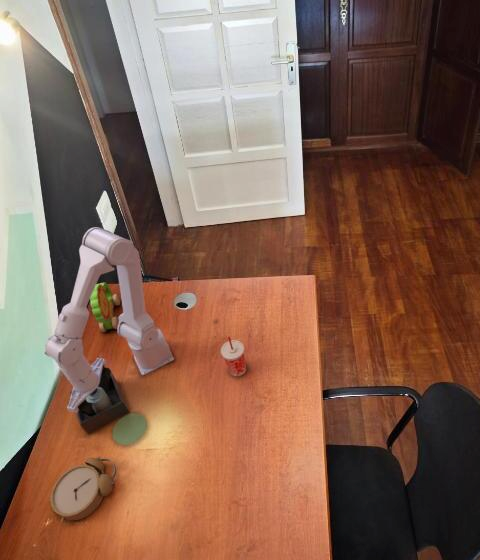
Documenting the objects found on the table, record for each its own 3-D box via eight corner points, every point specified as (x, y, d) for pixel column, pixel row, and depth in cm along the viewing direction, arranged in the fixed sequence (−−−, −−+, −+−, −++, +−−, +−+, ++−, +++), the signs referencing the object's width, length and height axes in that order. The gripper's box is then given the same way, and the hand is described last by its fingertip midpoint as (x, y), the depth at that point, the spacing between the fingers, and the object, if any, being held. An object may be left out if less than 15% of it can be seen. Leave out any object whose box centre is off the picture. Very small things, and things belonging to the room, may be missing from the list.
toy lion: (104, 302, 154) (86, 268, 143) (121, 299, 154) (104, 264, 144) (101, 340, 143) (81, 306, 132) (120, 336, 143) (101, 302, 132)
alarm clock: (41, 489, 109) (97, 442, 113) (54, 495, 113) (108, 449, 117) (59, 529, 102) (118, 477, 106) (72, 533, 106) (129, 483, 110)
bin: (117, 382, 131) (111, 371, 128) (130, 412, 124) (123, 401, 121) (78, 402, 128) (69, 391, 124) (88, 434, 121) (80, 424, 117)
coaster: (140, 408, 125) (140, 407, 125) (151, 433, 120) (151, 433, 119) (108, 425, 122) (108, 424, 122) (118, 452, 117) (118, 451, 117)
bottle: (109, 396, 128) (97, 377, 122) (114, 409, 125) (102, 391, 119) (92, 404, 127) (79, 386, 121) (96, 418, 124) (83, 400, 118)
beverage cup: (222, 375, 130) (212, 343, 120) (232, 357, 134) (223, 325, 124) (243, 381, 128) (234, 349, 118) (252, 363, 132) (245, 331, 122)
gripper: (80, 345, 120) (100, 376, 130) (47, 395, 111) (71, 424, 120) (105, 349, 119) (123, 380, 128) (73, 400, 109) (95, 429, 118)
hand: (99, 402), depth 124 cm, fingers open, 7 cm apart
